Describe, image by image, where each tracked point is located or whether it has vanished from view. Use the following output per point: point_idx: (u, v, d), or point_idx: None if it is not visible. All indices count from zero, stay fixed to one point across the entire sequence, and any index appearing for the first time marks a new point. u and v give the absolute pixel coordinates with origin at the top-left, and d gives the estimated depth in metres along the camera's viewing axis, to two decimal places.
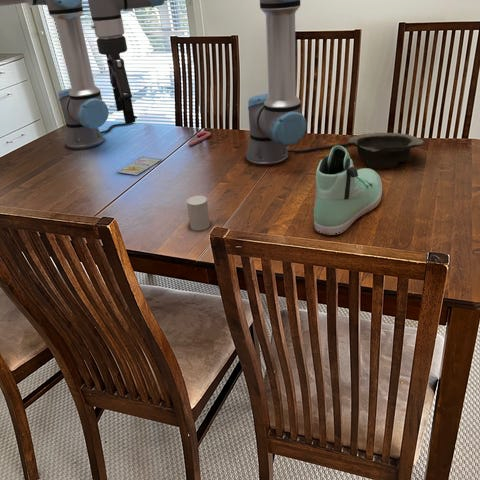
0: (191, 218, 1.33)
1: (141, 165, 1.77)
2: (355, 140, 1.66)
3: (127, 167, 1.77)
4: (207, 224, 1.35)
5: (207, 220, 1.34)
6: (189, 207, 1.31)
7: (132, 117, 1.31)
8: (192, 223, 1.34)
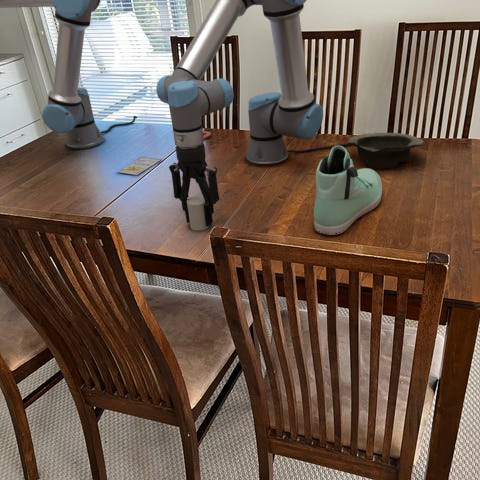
0: (191, 218, 1.33)
1: (141, 165, 1.77)
2: (355, 140, 1.66)
3: (127, 167, 1.77)
4: None
5: None
6: (189, 207, 1.31)
7: (211, 218, 1.34)
8: (192, 223, 1.34)
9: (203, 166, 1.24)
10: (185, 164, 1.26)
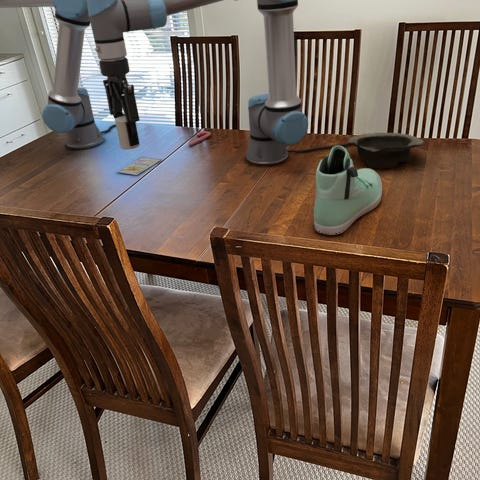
0: (118, 135, 1.37)
1: (141, 165, 1.77)
2: (355, 140, 1.66)
3: (127, 167, 1.77)
4: None
5: None
6: None
7: (137, 139, 1.36)
8: (119, 141, 1.38)
9: (120, 81, 1.27)
10: (110, 79, 1.30)
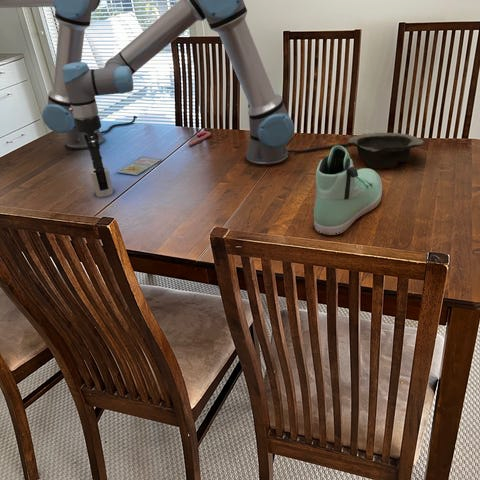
0: None
1: (141, 165, 1.77)
2: (355, 140, 1.66)
3: (127, 167, 1.77)
4: (103, 193, 1.57)
5: (103, 190, 1.56)
6: None
7: (105, 185, 1.54)
8: None
9: (88, 137, 1.46)
10: (86, 132, 1.50)
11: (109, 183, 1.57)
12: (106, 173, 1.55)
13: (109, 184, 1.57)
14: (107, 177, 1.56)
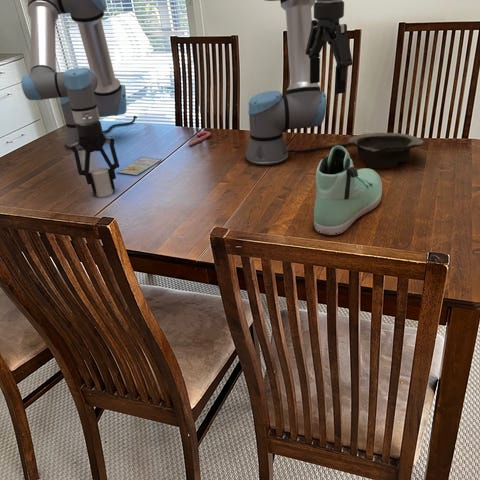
0: None
1: (141, 165, 1.77)
2: (355, 140, 1.66)
3: (127, 167, 1.77)
4: (103, 193, 1.57)
5: (103, 190, 1.56)
6: None
7: (343, 87, 1.24)
8: None
9: (332, 24, 1.19)
10: (321, 23, 1.23)
11: (109, 183, 1.57)
12: (106, 173, 1.55)
13: (109, 184, 1.57)
14: (107, 177, 1.56)
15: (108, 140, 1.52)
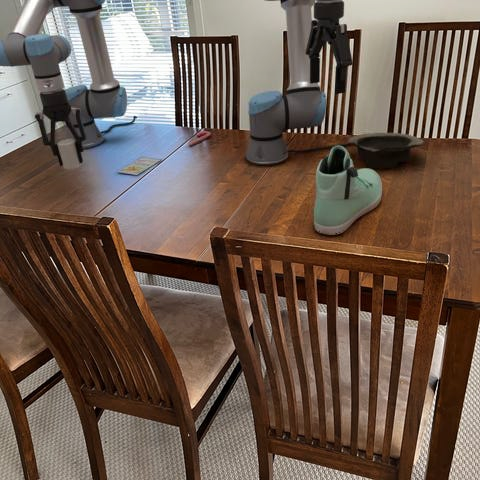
0: None
1: (141, 165, 1.77)
2: (355, 140, 1.66)
3: (127, 167, 1.77)
4: (69, 166, 1.53)
5: (69, 162, 1.53)
6: None
7: (343, 87, 1.24)
8: None
9: (332, 24, 1.19)
10: (321, 23, 1.23)
11: (75, 156, 1.53)
12: (72, 145, 1.51)
13: (75, 157, 1.53)
14: (73, 149, 1.52)
15: (74, 111, 1.47)
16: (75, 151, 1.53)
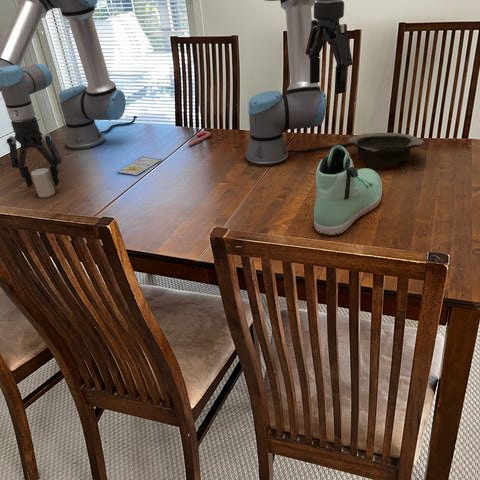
0: None
1: (141, 165, 1.77)
2: (355, 140, 1.66)
3: (127, 167, 1.77)
4: (41, 194, 1.60)
5: (41, 191, 1.59)
6: None
7: (343, 87, 1.24)
8: None
9: (332, 24, 1.19)
10: (321, 23, 1.23)
11: (47, 185, 1.59)
12: (43, 175, 1.57)
13: (47, 186, 1.59)
14: (45, 179, 1.58)
15: (44, 137, 1.52)
16: (47, 181, 1.59)
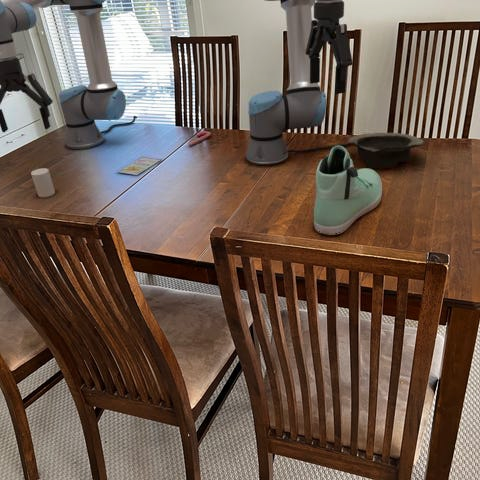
0: None
1: (141, 165, 1.77)
2: (355, 140, 1.66)
3: (127, 167, 1.77)
4: (41, 194, 1.60)
5: (41, 191, 1.59)
6: None
7: (343, 87, 1.24)
8: None
9: (332, 24, 1.19)
10: (321, 23, 1.23)
11: (47, 185, 1.59)
12: (43, 175, 1.57)
13: (47, 186, 1.59)
14: (45, 179, 1.58)
15: (27, 78, 1.43)
16: (47, 181, 1.59)
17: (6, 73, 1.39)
